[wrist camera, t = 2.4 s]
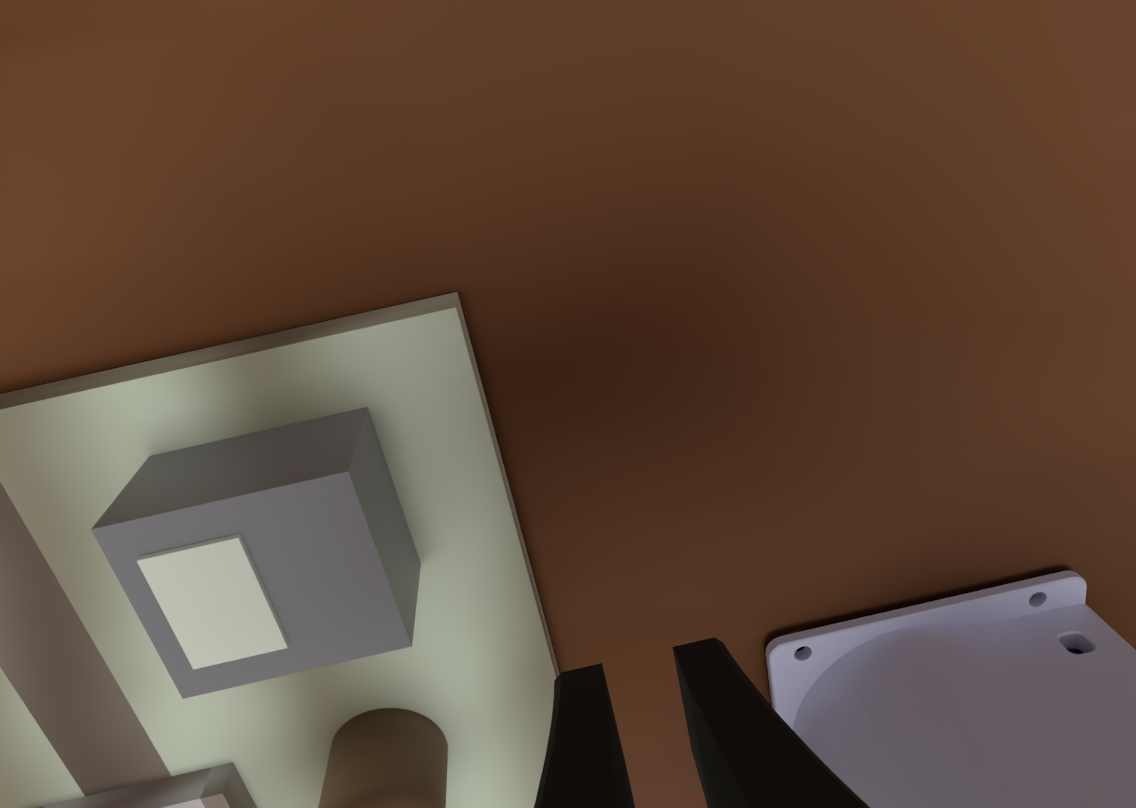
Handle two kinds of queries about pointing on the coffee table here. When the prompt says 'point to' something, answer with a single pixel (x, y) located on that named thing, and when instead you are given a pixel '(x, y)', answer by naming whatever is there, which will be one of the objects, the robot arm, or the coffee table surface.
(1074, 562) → the coffee table surface
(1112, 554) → the coffee table surface
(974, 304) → the coffee table surface
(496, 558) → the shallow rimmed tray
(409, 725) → the peg
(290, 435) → the grey box with panel
